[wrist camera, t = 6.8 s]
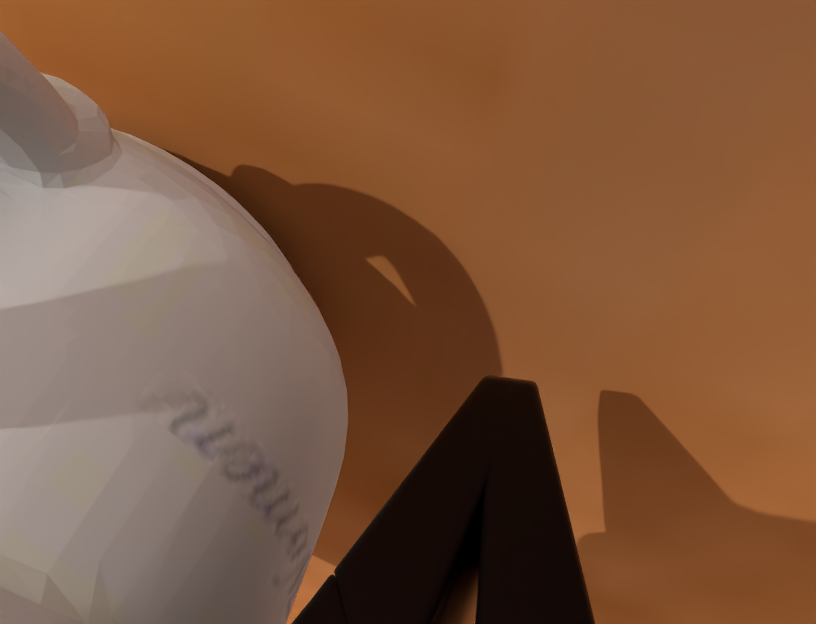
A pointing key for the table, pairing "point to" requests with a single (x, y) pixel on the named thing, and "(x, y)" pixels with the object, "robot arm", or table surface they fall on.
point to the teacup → (149, 382)
